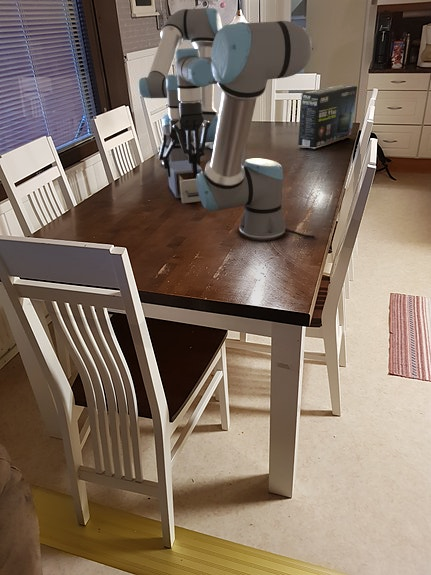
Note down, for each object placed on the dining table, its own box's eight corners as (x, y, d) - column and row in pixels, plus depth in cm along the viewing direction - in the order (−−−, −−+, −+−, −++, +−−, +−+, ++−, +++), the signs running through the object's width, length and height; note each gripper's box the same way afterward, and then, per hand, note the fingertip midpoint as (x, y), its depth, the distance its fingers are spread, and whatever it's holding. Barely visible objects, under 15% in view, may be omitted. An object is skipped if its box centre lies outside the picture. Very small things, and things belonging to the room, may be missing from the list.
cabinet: (203, 194, 181) (202, 169, 176) (176, 198, 178) (173, 172, 173) (194, 183, 195) (193, 159, 190) (169, 186, 193) (166, 162, 188)
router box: (314, 151, 231) (318, 94, 217) (296, 148, 237) (299, 92, 224) (352, 138, 251) (358, 85, 238) (335, 135, 258) (340, 83, 245)
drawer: (212, 205, 166) (211, 182, 162) (185, 208, 164) (183, 185, 160) (199, 188, 184) (197, 168, 180) (175, 191, 182) (173, 171, 178)
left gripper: (206, 114, 182) (208, 169, 193) (147, 119, 177) (153, 175, 188) (210, 117, 175) (213, 174, 186) (149, 123, 171) (155, 180, 182)
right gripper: (206, 98, 155) (209, 167, 167) (168, 101, 152) (174, 171, 165) (212, 101, 149) (214, 173, 161) (172, 104, 146) (178, 177, 158)
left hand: (183, 174), depth 187 cm, fingers closed on cabinet, 11 cm apart
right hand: (194, 172), depth 163 cm, fingers closed
